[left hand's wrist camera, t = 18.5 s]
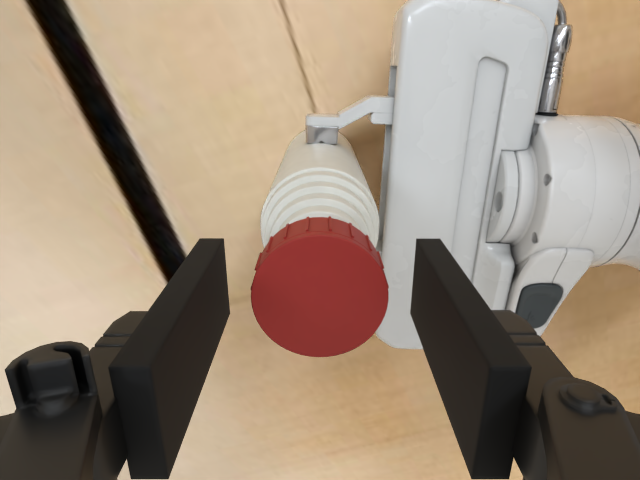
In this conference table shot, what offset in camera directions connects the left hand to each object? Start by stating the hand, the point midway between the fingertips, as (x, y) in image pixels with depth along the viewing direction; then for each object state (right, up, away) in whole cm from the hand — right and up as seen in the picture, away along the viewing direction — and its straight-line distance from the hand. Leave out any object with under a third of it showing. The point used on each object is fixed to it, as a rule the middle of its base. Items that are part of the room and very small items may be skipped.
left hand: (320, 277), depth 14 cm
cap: (0, 0, -1) cm, 1 cm away
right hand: (-1, +4, +12) cm, 12 cm away
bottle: (0, +7, +18) cm, 19 cm away
